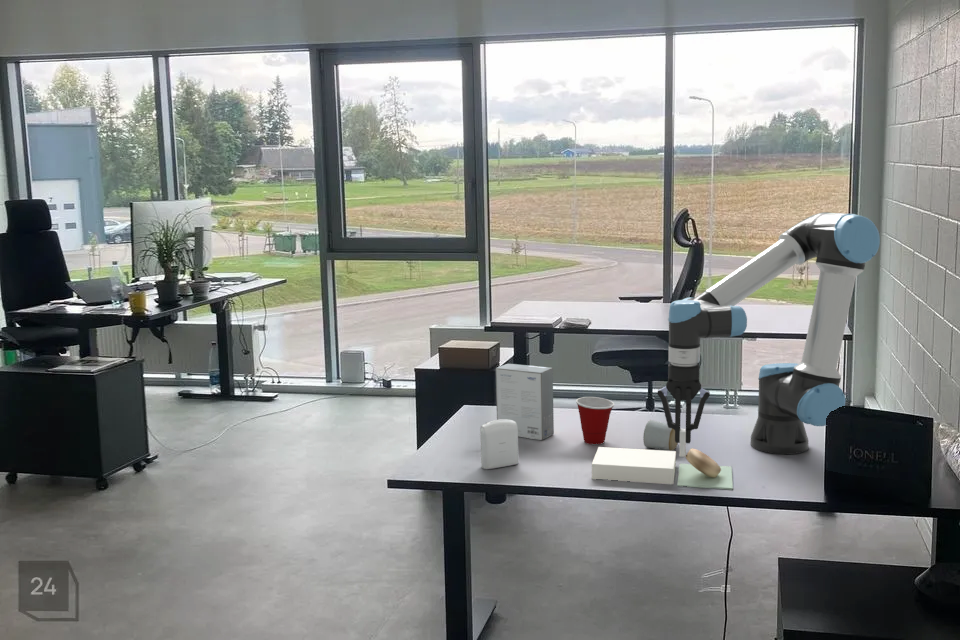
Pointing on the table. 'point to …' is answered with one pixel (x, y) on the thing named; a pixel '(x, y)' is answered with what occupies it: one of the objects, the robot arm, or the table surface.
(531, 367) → the hard drive box
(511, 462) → the photo printer
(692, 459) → the cork coaster
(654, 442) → the ceramic mug
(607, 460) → the block
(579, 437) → the table surface
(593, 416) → the plastic cup
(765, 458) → the table surface
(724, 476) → the sage mat
